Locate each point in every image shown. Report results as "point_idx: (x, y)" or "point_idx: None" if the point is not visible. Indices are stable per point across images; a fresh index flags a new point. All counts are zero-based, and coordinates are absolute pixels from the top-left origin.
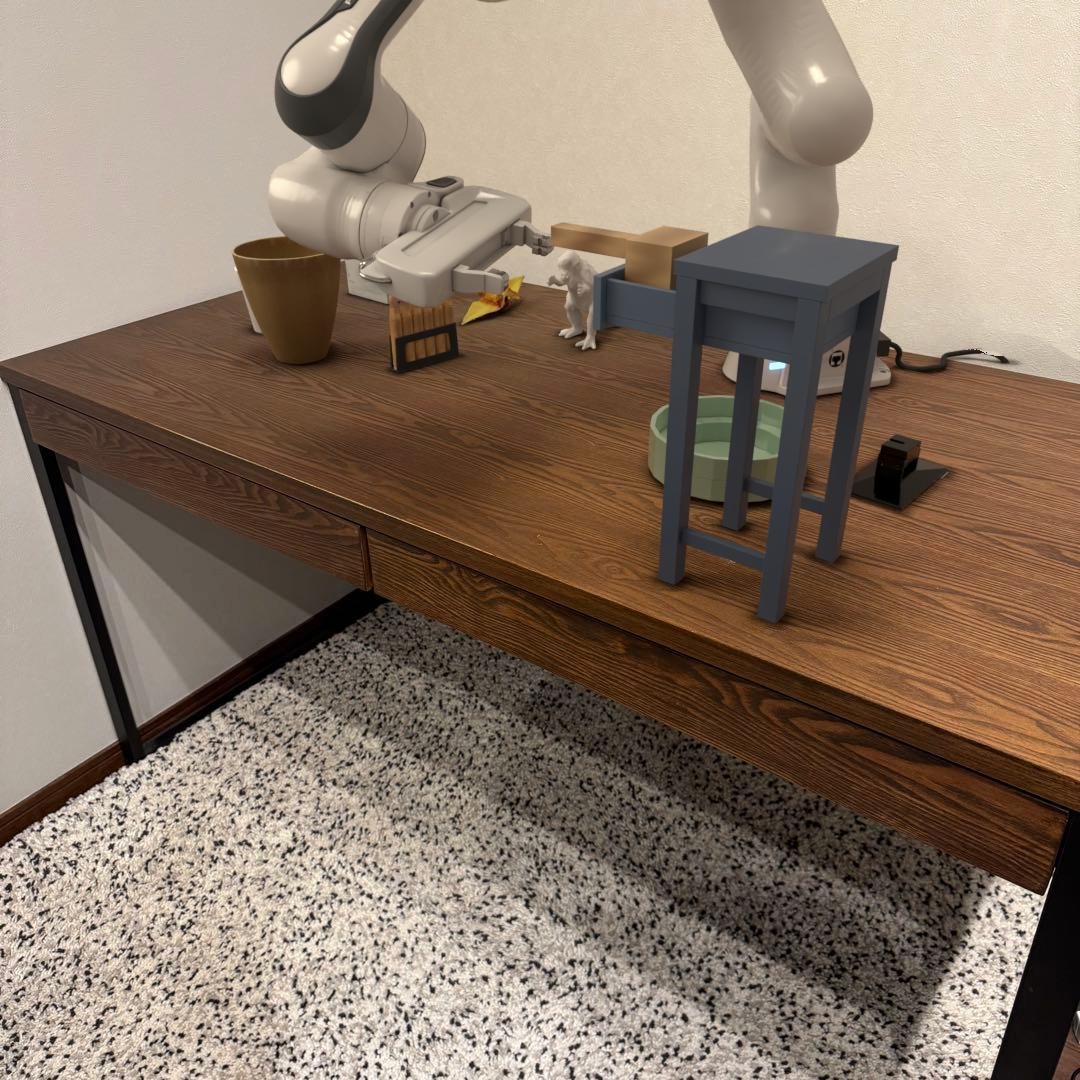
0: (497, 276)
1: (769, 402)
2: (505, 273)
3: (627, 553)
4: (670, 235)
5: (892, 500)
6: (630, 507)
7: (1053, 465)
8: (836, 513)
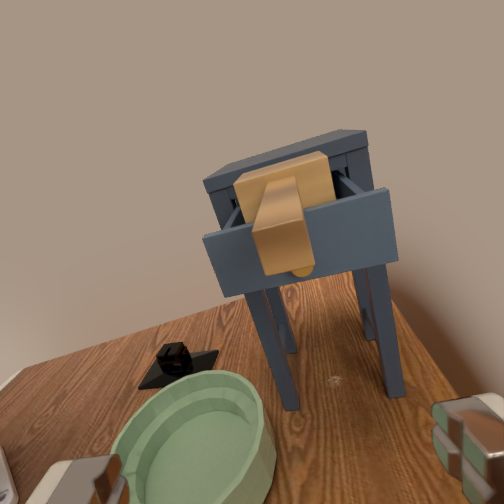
0: (496, 400)
1: (119, 435)
2: (446, 400)
3: (400, 439)
4: (276, 166)
5: (211, 355)
6: (328, 499)
7: (140, 334)
8: (288, 319)
